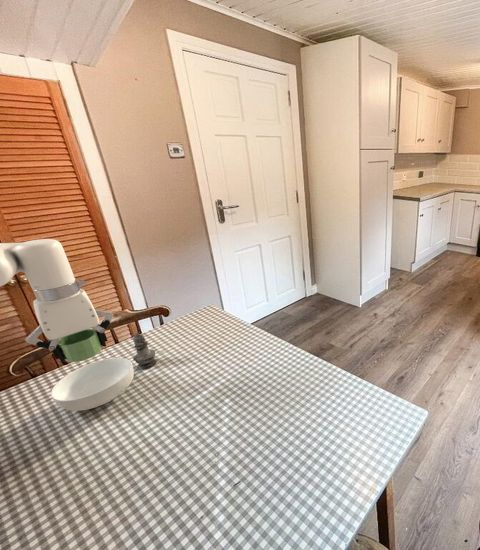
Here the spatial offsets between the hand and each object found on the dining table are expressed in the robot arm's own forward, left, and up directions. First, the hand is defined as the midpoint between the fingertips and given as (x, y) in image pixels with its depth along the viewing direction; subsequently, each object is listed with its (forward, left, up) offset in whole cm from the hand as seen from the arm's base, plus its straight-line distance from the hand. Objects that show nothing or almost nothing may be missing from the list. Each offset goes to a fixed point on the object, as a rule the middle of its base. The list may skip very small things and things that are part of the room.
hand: (83, 351), depth 79 cm
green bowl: (0, 0, -1) cm, 1 cm away
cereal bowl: (0, 0, -15) cm, 15 cm away
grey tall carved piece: (+8, +12, -15) cm, 21 cm away
